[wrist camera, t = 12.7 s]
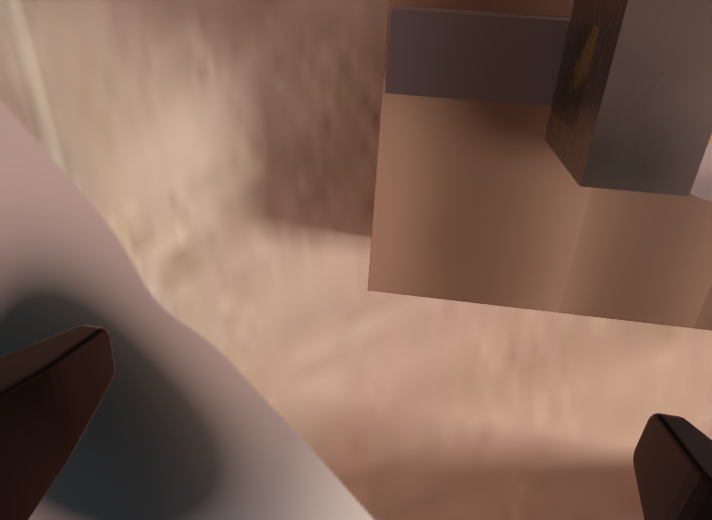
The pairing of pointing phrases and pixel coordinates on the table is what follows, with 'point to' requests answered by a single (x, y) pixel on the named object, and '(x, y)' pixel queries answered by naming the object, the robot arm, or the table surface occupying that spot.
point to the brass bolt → (634, 95)
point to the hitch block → (514, 180)
